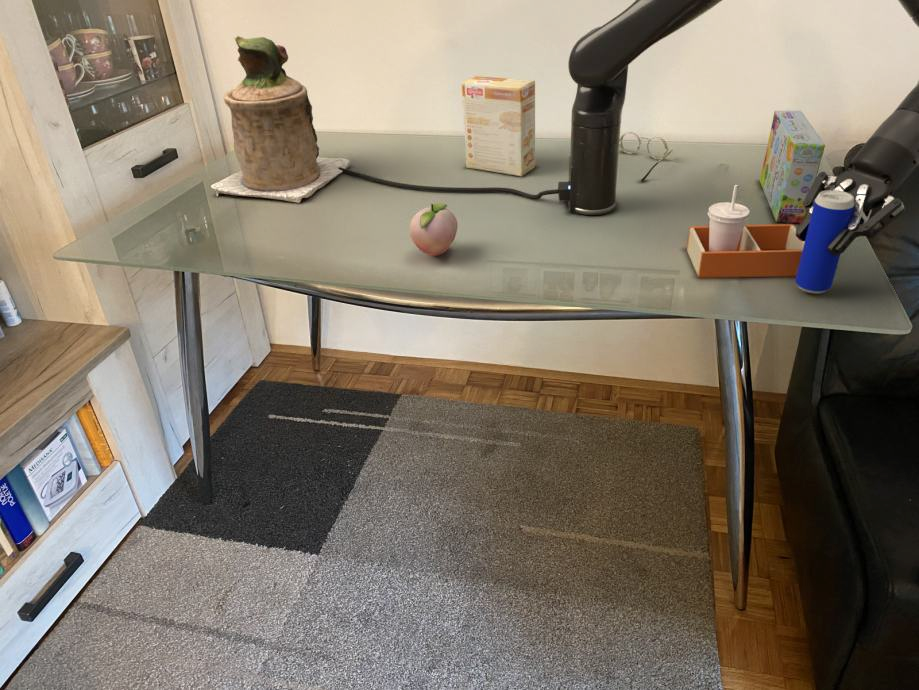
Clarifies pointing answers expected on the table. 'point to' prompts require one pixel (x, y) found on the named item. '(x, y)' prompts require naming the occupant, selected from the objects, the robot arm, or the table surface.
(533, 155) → the coffeecake box
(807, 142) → the snack box
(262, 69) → the cookie jar
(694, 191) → the table surface
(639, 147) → the round eyeglasses
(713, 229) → the smoothie
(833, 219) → the beverage can
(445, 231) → the decorative fruit
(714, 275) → the carrier
